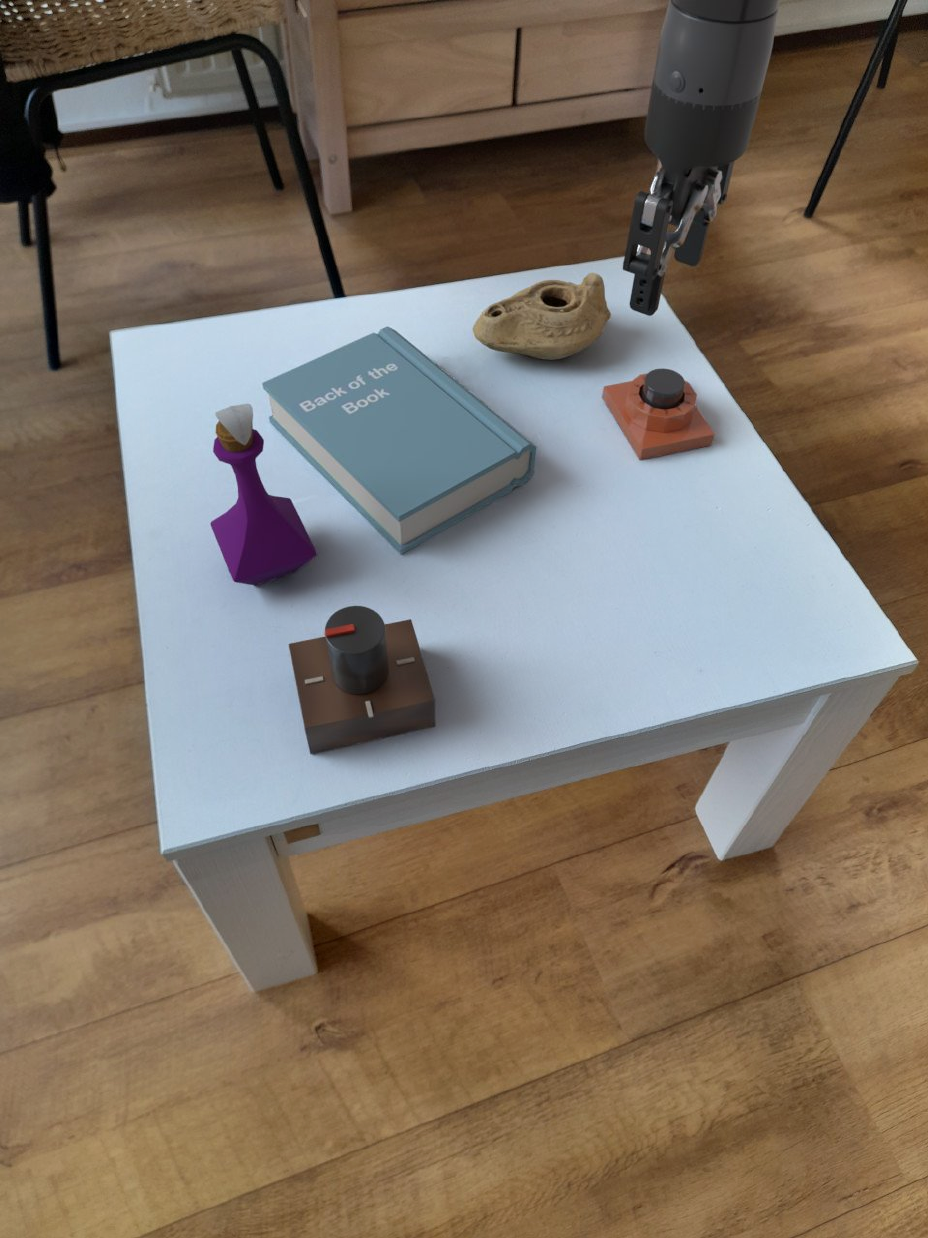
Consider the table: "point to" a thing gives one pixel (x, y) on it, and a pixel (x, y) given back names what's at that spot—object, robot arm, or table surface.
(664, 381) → the dark grey knob
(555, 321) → the oil lamp
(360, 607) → the dial
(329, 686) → the dial panel
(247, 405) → the perfume bottle
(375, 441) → the book
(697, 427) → the button base
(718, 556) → the table surface
